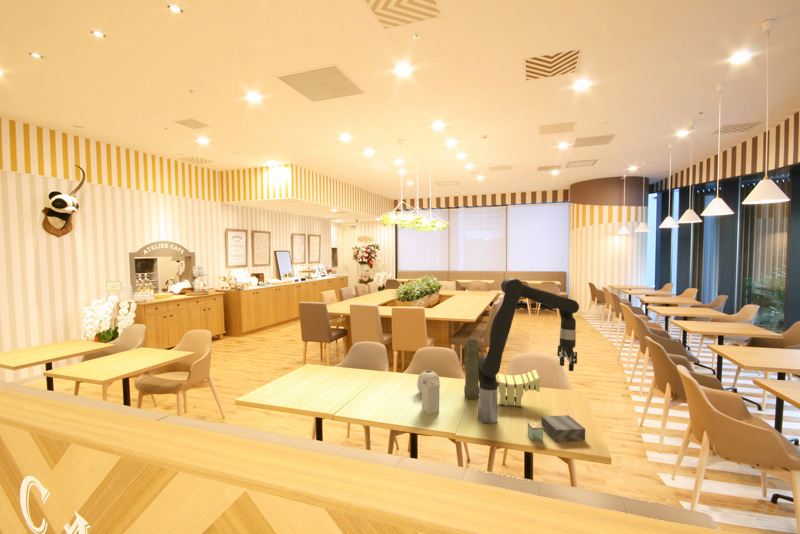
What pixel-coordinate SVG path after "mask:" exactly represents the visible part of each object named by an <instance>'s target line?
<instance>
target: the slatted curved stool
mask: <svg viewBox="0 0 800 534" xmlns="http://www.w3.org/2000/svg"><path fill="white" fill-rule="evenodd" d="M496 379H497V383H498V397H497V404H498V403H499V404H498V406H500V405H501V406H511V407H514V406H515V407H520V408H521V407H523V404H521V403H522V399H523V396H524V392H525V393H526V392H528V391H529V390H530V391H533V392H534V391H536V392H540V391H541V389H540V386H541V385H540V381H541V380H540V376H539V374H538V372H537V370H536V369H533V370H531V371H529V372H526V373H522V374H515V375H508V374H506V375H505V374H503V373H499V372H498V373H497V375H496Z"/></svg>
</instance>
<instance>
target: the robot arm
mask: <svg viewBox="0 0 800 534" xmlns="http://www.w3.org/2000/svg"><path fill="white" fill-rule="evenodd" d="M500 288H501V291H502V292H503V299H502V303H501V305H500V308H499V309H498V311H496V313H495V315H494V317H493V319H492V323H491V326H490V331H489V347H488V350H487V354H484V355H482V357H481V356H480V357H479V359H480V360H479V363H478V378H479V399H477V418H478V420H479V422H480V423H482V424H489V425H490V424H495V423H497V422H498V397H497V396H498V394H499V389H498V383H497V382H498V378H497V379H496V375H497V376H498V373H499V372H500V369H501V364H502V358H503V353H504V349H505V347H506V344H507V342H508V341H507V340H508V337H509V335H510V331H511V328H512V323H513V320H514V317H515V313H516V309H517V306H518V304H519V301H520V299H521V297H522V298H525V299H526V300H531V301H532V302H535V303H538V304H541V305H543V306H545V307H546V306H547V307H550V308H554V309H558V311H559V317H560V329H559V345H557V352H556V353H557V357H558V358H559V366H561V367H564V366H565V358H566V360H567V361H568V371H569V372H574V367H575V365H577V364H578V352H577V351H574V349H575V348H576V342H577V341H576V340H577V331H576V330H577V328H576V326H577V320H576V318H574V314H575V313H577V312H578V311H579V310H580V305H579V302H577V301H576V300H574V299H572V298H568V297H564V296H560V295H558V294H556V293H553V292H549V291H548V290H547V291H546V290H542V289H539V288H534V287H531V286H528V285H525V284H524V283H523V282H522V281H521V280H520V279H519V278H514V277H508V278H505V279H504V280H502V282H501V283H500Z"/></svg>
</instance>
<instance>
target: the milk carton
mask: <svg viewBox="0 0 800 534" xmlns="http://www.w3.org/2000/svg"><path fill="white" fill-rule="evenodd" d="M421 410H422V411H424V412H425V413H426V414H427V415H430V414H431V415H432V414H437V413H439V412H440V388H439V383H438V380H437V378H436V376H431V377H425V380H424V381H423V382H422V393H421Z"/></svg>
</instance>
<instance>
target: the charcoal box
mask: <svg viewBox="0 0 800 534" xmlns="http://www.w3.org/2000/svg"><path fill="white" fill-rule="evenodd" d="M541 426H542V427H543V432H544V431H545V432H546V434H547V435H548V436H549V437H550V438H551V439H552V440H553V441H554V442H555V443H564V442H565V443H566V442H567V443H569V442H568V441H571V442H584V441H583V440H585V441H586V428H585V427H584V426H582V425H581V424H580V423H578V422H577V421H576V420H575V419H574V418H572V417H571V416H570V415H569V414H567V415H566V414H565V415H545V416H544V415H542V416H541Z"/></svg>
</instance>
